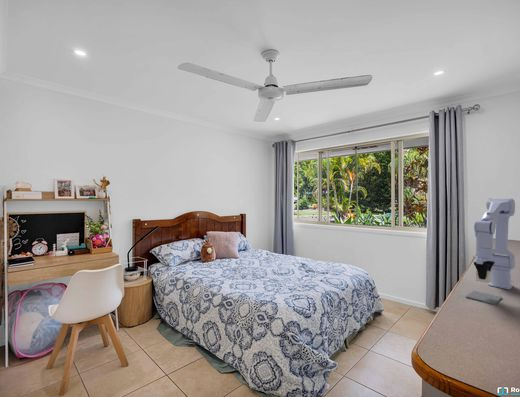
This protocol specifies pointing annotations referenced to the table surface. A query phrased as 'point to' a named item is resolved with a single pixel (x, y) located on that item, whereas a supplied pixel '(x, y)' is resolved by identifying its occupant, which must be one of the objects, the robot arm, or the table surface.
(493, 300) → the gray mat
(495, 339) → the table surface
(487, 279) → the cream cube
